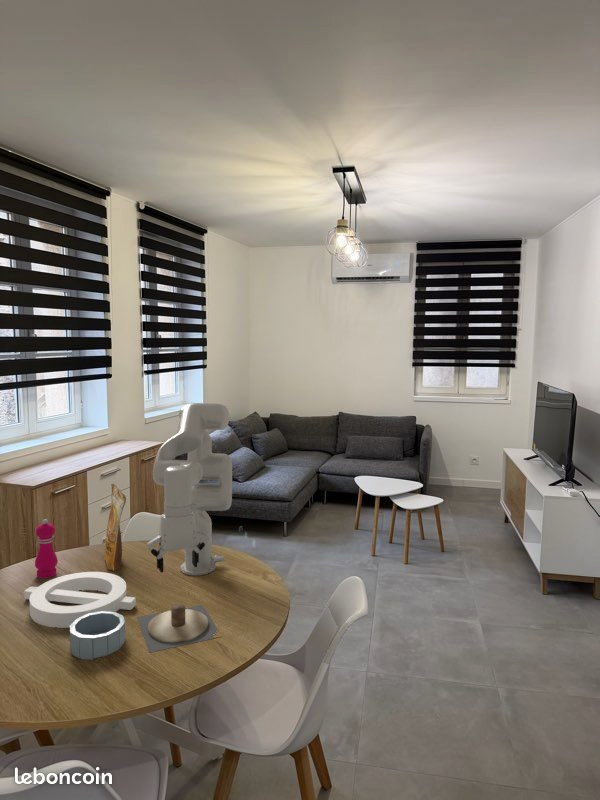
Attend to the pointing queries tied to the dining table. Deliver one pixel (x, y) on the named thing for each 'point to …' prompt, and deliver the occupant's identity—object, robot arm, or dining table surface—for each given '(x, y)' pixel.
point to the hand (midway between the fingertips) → (178, 567)
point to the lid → (178, 625)
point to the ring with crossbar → (77, 597)
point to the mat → (158, 645)
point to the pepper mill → (45, 551)
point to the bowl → (97, 634)
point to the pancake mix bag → (114, 530)
